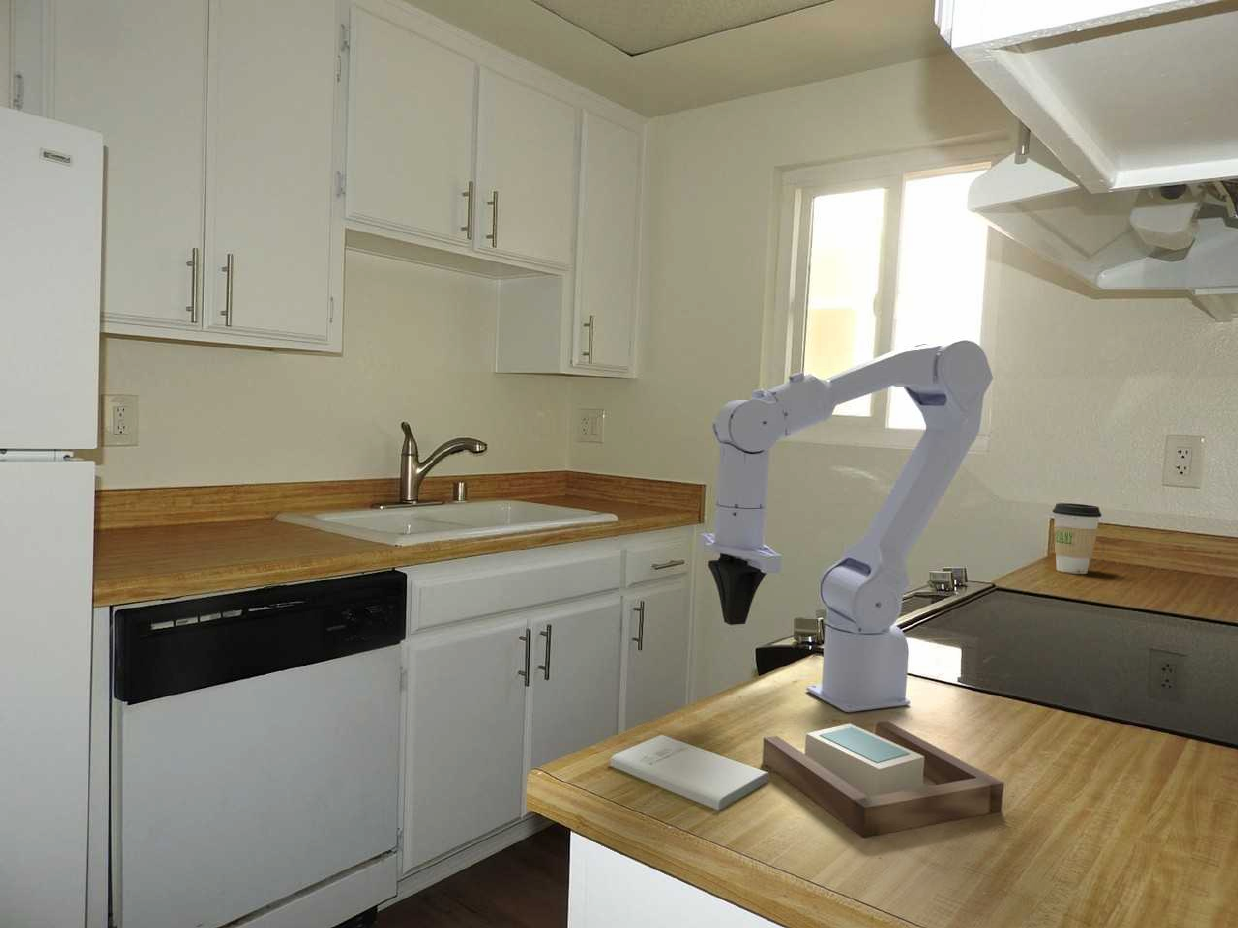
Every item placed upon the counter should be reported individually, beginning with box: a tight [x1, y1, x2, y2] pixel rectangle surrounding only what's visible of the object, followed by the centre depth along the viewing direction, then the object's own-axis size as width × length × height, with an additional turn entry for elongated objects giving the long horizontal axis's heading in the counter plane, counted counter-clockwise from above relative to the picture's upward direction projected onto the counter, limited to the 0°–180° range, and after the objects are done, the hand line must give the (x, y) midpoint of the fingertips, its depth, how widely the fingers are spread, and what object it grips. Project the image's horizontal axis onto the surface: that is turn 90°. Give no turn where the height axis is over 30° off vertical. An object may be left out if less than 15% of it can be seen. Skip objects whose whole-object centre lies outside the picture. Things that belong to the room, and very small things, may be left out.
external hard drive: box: [609, 734, 770, 812], centre depth 80 cm, size 2×8×12 cm
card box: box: [804, 722, 924, 797], centre depth 81 cm, size 6×9×4 cm, turn 32°
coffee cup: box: [1052, 502, 1102, 575], centre depth 195 cm, size 10×10×15 cm
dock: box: [762, 721, 1005, 839], centre depth 79 cm, size 15×15×2 cm
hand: (734, 622), depth 99 cm, fingers closed
